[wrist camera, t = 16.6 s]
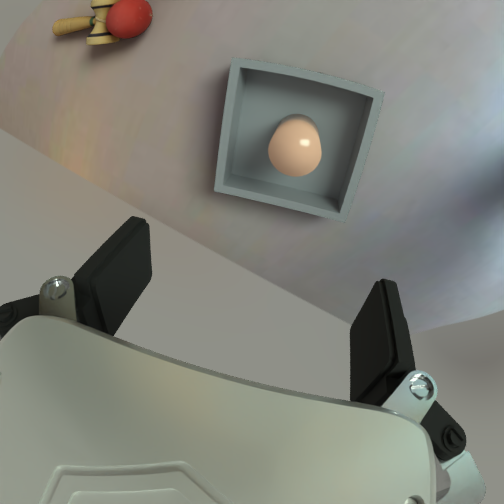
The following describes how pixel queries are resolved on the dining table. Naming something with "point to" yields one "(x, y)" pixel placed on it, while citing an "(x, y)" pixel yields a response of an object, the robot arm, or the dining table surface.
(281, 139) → the beige rounded capsule
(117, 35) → the kendama
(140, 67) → the dining table surface
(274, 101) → the bin
